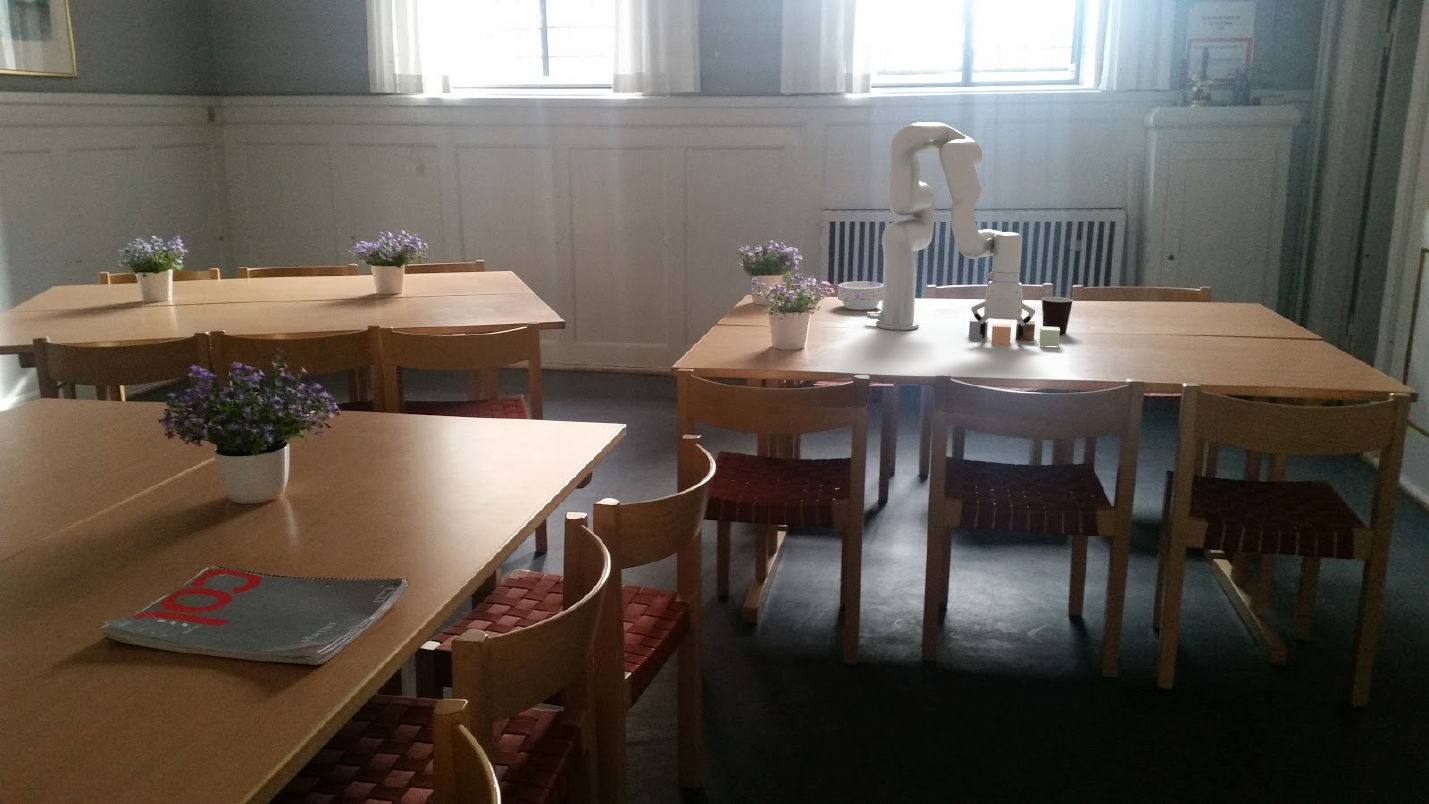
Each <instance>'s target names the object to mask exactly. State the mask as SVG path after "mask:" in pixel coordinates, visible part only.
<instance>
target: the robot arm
mask: <svg viewBox="0 0 1429 804" xmlns="http://www.w3.org/2000/svg"><path fill="white" fill-rule="evenodd" d="M930 153H931V154H932V153H933V154H938V158H939V162H940V165H941V169H942V171H943V172H942V173H943V175H944V177H945V181H946V184H947V187H948V190H949V193H950V196H951V200H952V203H951V208H950V209H951V210H950V226H951V231H952V234H953V236H954V240H955V243H956V246H957V248H958V250H959V252H960V254H961V255H963V257H965V258H967V259H971V260H973V259H980V258H987V257H992V265H991V271H990V272H986V275H985V278H988V279H990V281H988V283H987V287H986V293H985V299H984V301H983V302H980V303H978V304H975V305H973V306H972V307H971V312H972V314H973V316H974V317H973V318H976V319H977V320H978V321H979V322H980V335H982V338H985V328H986V323H985V321H986V320H987V319H988V320H989V319H994V320H1009V321H1010V320H1011V321H1012V320H1013V321H1014V320H1015V321H1016V322H1017V321H1018V322H1019V325H1018V337H1017V340H1020V337H1023V328H1024V325H1025V324H1026V323H1028V322H1029V321H1032V318H1033V317H1034V316H1035V313H1036V309H1034V308H1032V307H1030V306H1028V305H1026V304H1025V303H1023V297H1024V296H1023V292H1024V291H1023V285H1022V283H1021V282H1020V278H1021V277H1020V274H1021V263H1022V261H1021V260H1022V253H1023V252H1022V249H1023V237H1022V234H1020V233H1018V232H1011V231H1010V232H1009V231H1005V232H1004V231H1003V232H1002V231H998V230H994V229H989V228H987V229H980V230H979V229H978V225H977V222H976V216H975V208H976V204H977V202H978V200H979V198H980V196H981V195H982V193H983V188H982V185H981V182H980V179H979V176H978V173H977V169H976V167H978V166H979V165H980V164H981V162H982V159H983V151H982V148H981V146H980V145H979V143H978V142H977V141H976V140H974V139H972V138H971V137H970V136H967V135H966V134H963V133H962V132H960V131H958V130H957V129H955V128H953V127H951V126H950V125H947V124H945V123H942V122H916V123H915V122H914V123H910V124H908V125H905V126H903V127H902V128H901V129H899V130H898V131H897V132H896V133H895V135H894V136H893V139H892V140H891V144H890V156H889V157H890V171H889V185H888V207H889V209H890V212H892V213H893V214H894V215H896V216H901V217H903V216H905V218H904V219H901V220H896V221H893V222H891V223H889V224H888V225H887V226H886V227H885V228H884V230H883V232H882V235H881V245H882V251H883V280H882V284H883V300H882V305H881V310H880V311H877V312H874V311H867V312H866V318H867V319H871V320H877V321H875V323H876V324H875V325H876V327H877V328H880V329H883V330H891V331H911V330H916V329H918V328H919V322H917V321H915V317H914V316H915V301H916V300H915V297H916V279H917V278H916V277H917V262H916V258H915V254H914V252H916V251H921V250H924V249H926V248H927V247H928V246H929V245H930V243H931V242H932V239H933V236H934V227H935V226H934V225H935V210H936V209H935V207H936V198H935V193H934V190H933V189H932V187H931V186H930V185H929V184H927V183H926V182H923V181H920V175H921V165H920V162H919V158H918V155H920V154H930ZM980 309H984V310H983V316H981V314H980V313H979V310H980ZM1023 311H1025V312H1027V313H1028V314H1027V315H1026V317H1024V318H1023V317H1022V314H1023Z"/></svg>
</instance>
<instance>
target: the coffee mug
mask: <svg viewBox="0 0 1429 804" xmlns="http://www.w3.org/2000/svg"><path fill="white" fill-rule="evenodd" d="M1073 301H1074V300H1073V299H1071V298H1070V297H1069V298H1068V297H1064V296H1063V297H1062V296H1061V297H1060V296H1045V297H1042V298H1041V308H1042V309H1041V310H1042V311H1041V314H1042V326H1045V327H1059V328H1060V335H1059V336H1064V335H1063V334H1065V335H1066V334H1067V330H1068V325H1069V321H1070V316H1071V311H1072V306H1073Z"/></svg>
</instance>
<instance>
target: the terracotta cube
mask: <svg viewBox="0 0 1429 804" xmlns="http://www.w3.org/2000/svg"><path fill="white" fill-rule="evenodd" d="M991 329H992V330H991V340H990V341H991V342H990V344H991V345H995V344H998V345H997V346H999V345H1000V346H1010V345H1011V344H1010V343H1011V332H1012V324H1005V323H1004V324H1003V323H992V328H991Z"/></svg>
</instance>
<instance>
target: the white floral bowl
mask: <svg viewBox="0 0 1429 804" xmlns="http://www.w3.org/2000/svg"><path fill="white" fill-rule="evenodd" d="M837 300H839V301H842V304H843V306H844V308H846V309H847V310H852V311H853V310H854V311H869V310H870V311H871V310H875V309H876V308H877V307H878V306H879V303H880V302H881V301H883V283H881V282H877V281H876V282H875V281H846V282H842V283H839V284H838V285H837Z"/></svg>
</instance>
